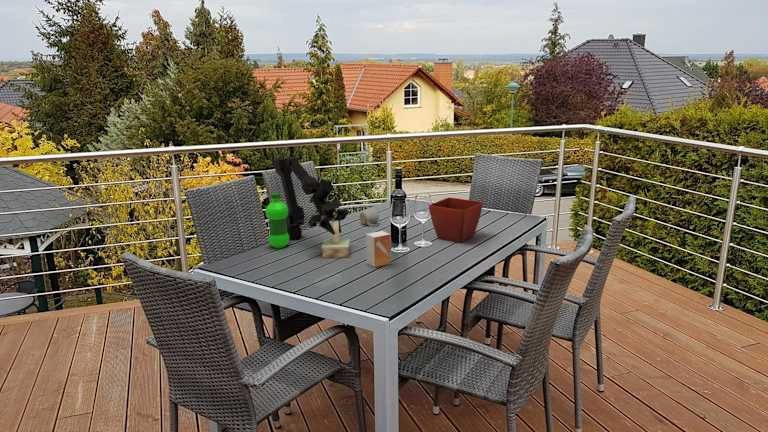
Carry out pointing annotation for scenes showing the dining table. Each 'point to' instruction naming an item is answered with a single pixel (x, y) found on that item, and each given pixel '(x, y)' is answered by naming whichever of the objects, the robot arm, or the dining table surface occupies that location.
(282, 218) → the plastic bottle
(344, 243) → the beige peg on base
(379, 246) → the small box
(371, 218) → the ceramic mug
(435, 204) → the plant pot
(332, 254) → the oak box
